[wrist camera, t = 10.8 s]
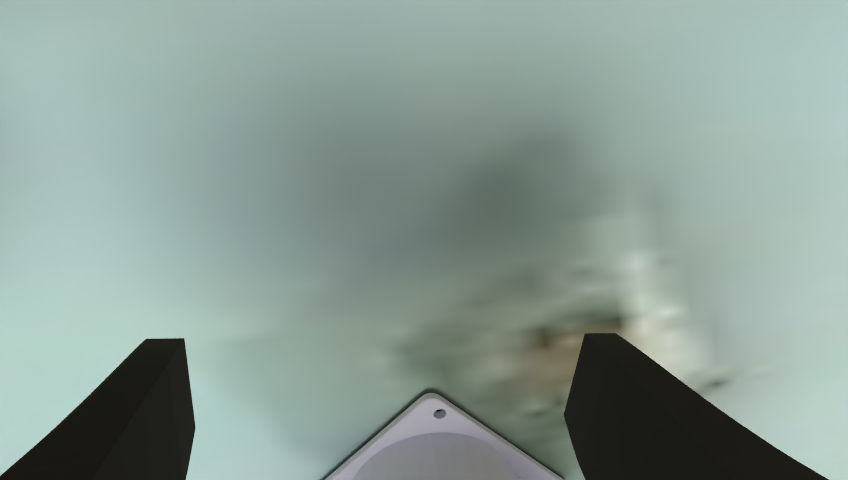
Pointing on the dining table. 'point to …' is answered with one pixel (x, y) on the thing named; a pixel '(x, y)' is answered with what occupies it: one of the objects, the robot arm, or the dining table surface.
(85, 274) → the dining table surface
